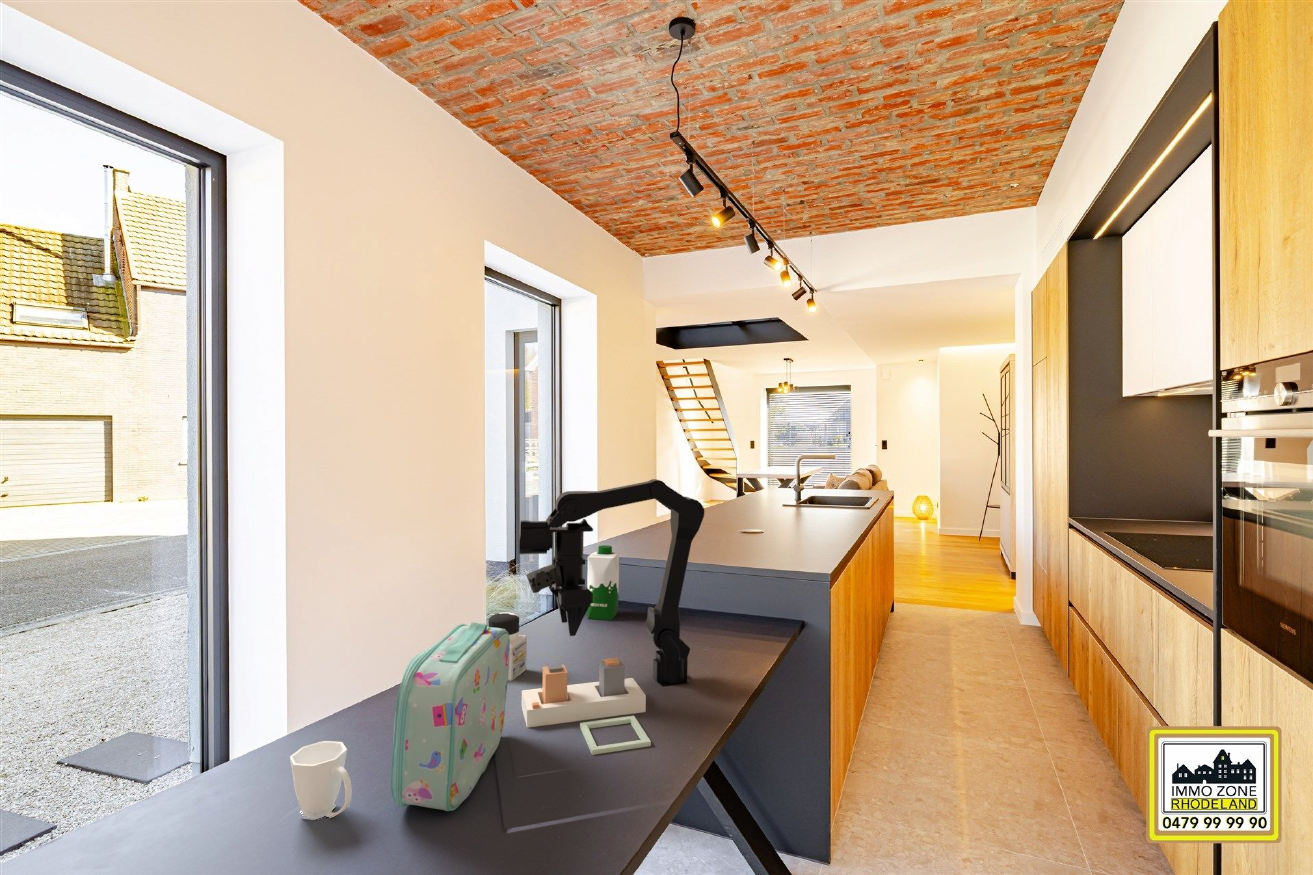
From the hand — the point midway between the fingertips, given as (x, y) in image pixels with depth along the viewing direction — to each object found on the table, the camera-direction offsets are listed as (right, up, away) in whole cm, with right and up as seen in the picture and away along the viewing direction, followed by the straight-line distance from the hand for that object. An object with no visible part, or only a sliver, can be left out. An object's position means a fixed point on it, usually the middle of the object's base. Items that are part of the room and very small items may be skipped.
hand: (568, 628), depth 126 cm
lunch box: (-13, -12, -32) cm, 36 cm away
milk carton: (+2, -13, +53) cm, 54 cm away
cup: (-27, -12, -43) cm, 52 cm away
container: (-15, -13, +8) cm, 21 cm away
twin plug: (+10, -12, -8) cm, 18 cm away
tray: (+11, -13, -21) cm, 26 cm away
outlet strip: (+4, -13, -10) cm, 17 cm away
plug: (-1, -12, -12) cm, 17 cm away
